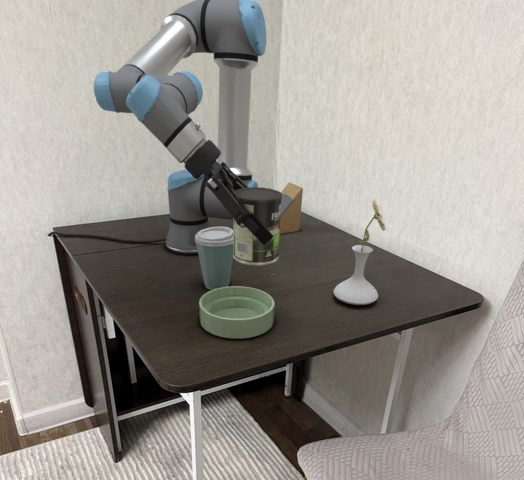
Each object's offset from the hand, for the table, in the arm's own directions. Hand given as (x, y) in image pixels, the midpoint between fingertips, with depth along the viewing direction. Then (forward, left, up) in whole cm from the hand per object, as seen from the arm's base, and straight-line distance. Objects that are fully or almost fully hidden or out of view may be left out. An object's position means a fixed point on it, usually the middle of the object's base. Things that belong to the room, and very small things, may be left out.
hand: (270, 232), depth 104 cm
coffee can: (-3, -1, -6) cm, 7 cm away
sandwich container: (-28, +58, -21) cm, 68 cm away
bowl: (-5, -6, -21) cm, 22 cm away
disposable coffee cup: (-20, +8, -21) cm, 30 cm away
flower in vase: (+15, +21, -21) cm, 33 cm away
